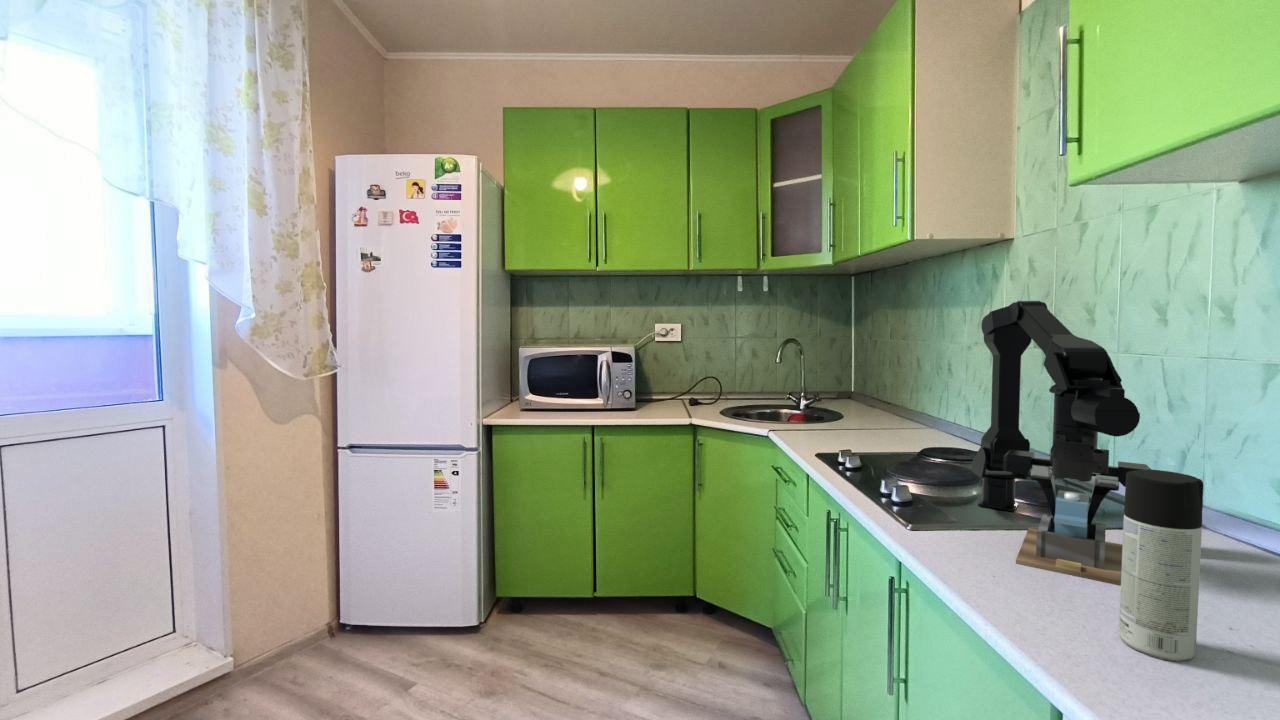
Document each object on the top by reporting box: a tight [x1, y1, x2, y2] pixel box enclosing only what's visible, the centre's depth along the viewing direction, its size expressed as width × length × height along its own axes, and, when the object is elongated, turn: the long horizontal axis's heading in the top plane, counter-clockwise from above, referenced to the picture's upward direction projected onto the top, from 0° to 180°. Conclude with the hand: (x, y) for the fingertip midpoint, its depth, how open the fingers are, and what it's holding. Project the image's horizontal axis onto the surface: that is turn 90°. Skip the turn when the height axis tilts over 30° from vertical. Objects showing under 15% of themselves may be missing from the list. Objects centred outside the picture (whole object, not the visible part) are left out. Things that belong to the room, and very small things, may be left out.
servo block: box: [1054, 489, 1090, 538], centre depth 93 cm, size 12×4×8 cm, turn 141°
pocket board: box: [1015, 513, 1123, 586], centre depth 93 cm, size 18×13×4 cm
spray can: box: [1118, 468, 1204, 662], centre depth 66 cm, size 7×7×20 cm
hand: (1071, 521), depth 93 cm, fingers closed on servo block, 4 cm apart
